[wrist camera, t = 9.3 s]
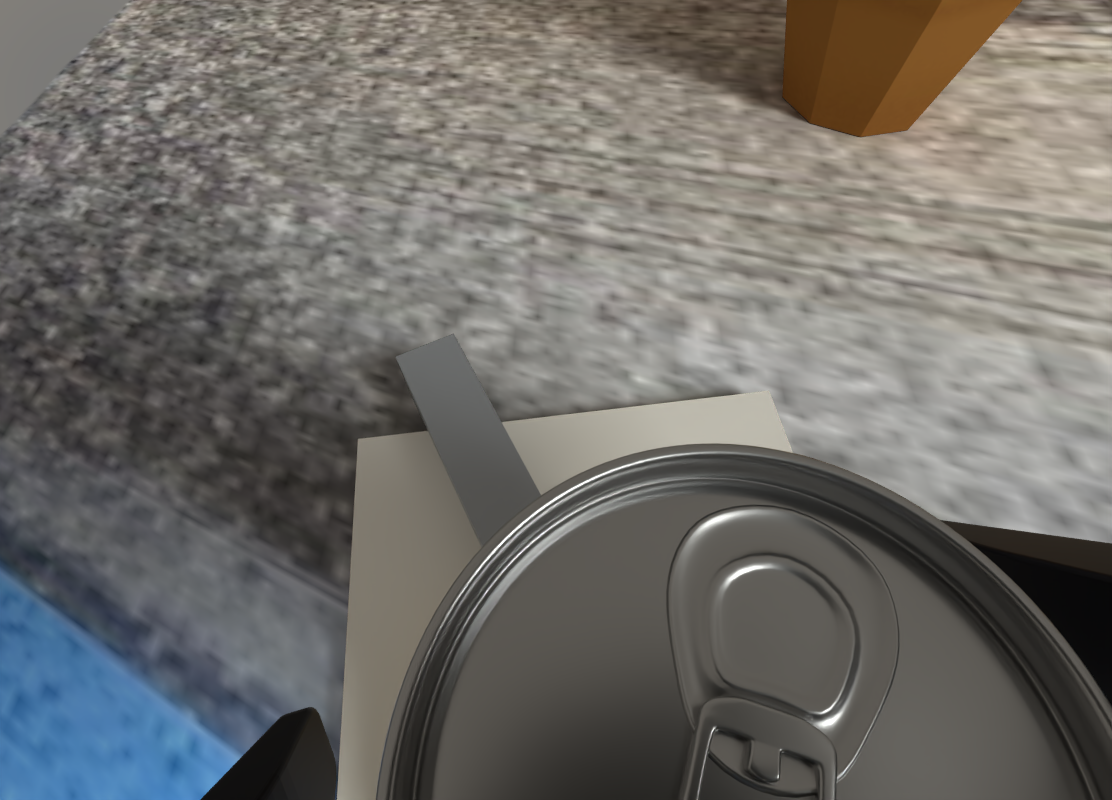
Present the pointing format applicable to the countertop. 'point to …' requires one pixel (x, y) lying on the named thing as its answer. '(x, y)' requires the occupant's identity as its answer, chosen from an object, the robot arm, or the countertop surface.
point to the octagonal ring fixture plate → (473, 512)
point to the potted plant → (879, 57)
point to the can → (740, 650)
